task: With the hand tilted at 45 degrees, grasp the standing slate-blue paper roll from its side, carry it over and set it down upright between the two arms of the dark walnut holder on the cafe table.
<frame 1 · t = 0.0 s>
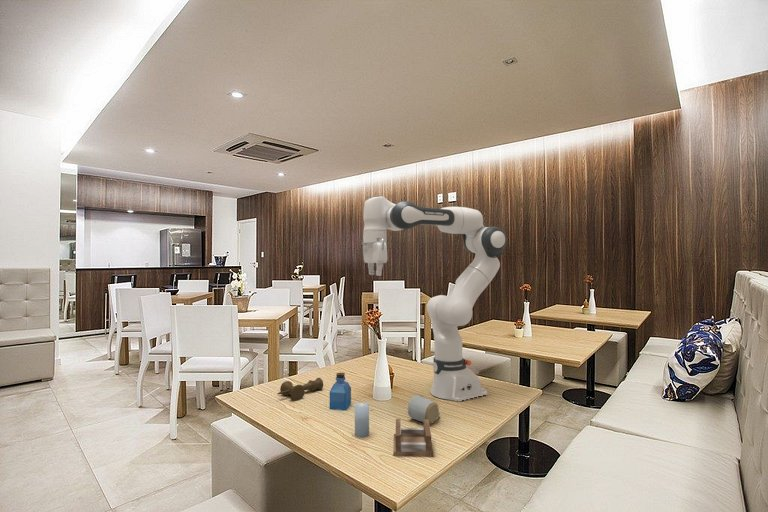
hand: (375, 275, 144), 48 cm above the table, tool pointing down, fingers open, 8 cm apart
ceramic mug: (425, 420, 128), on the table
perfume bottle: (340, 407, 140), on the table
holder: (412, 446, 109), on the table
paper roll: (361, 434, 117), on the table
kendama: (300, 395, 152), on the table
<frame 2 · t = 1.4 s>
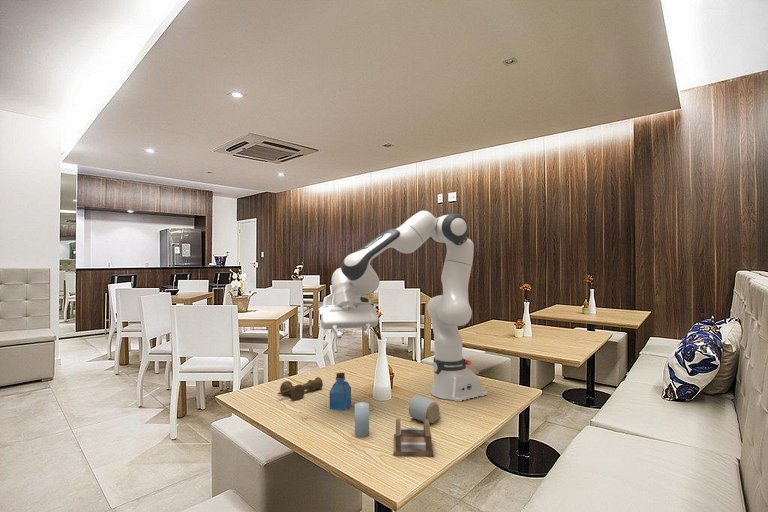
hand: (352, 336, 129), 28 cm above the table, tool tilted 45°, fingers open, 8 cm apart
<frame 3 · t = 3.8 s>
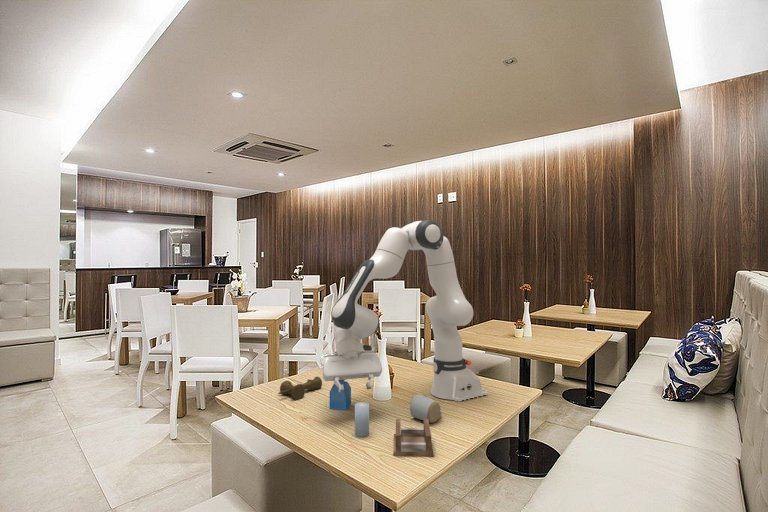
hand: (355, 389, 124), 11 cm above the table, tool tilted 45°, fingers open, 8 cm apart
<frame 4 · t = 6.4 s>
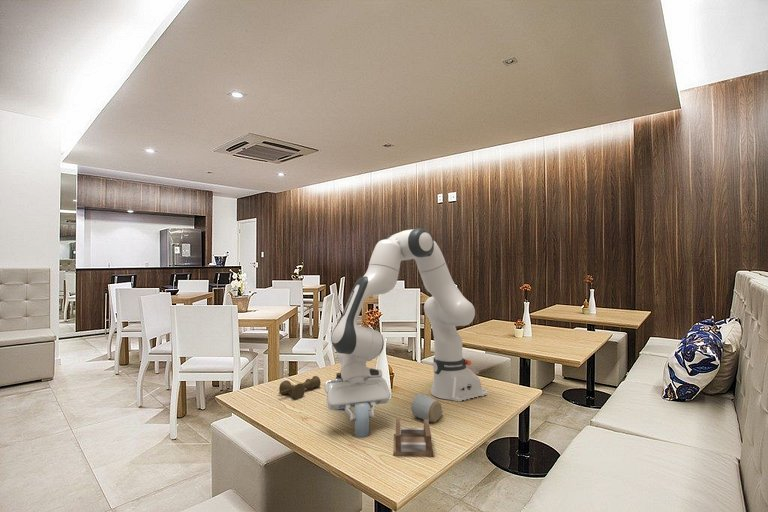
hand: (362, 418, 117), 5 cm above the table, tool tilted 45°, fingers closed on paper roll, 4 cm apart
paper roll: (361, 434, 117), on the table, touching gripper
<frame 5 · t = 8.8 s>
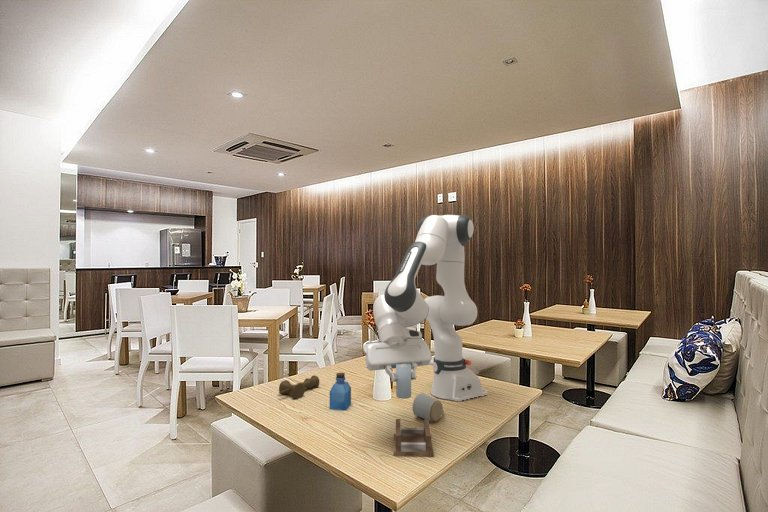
hand: (404, 379, 110), 19 cm above the table, tool tilted 45°, fingers closed on paper roll, 4 cm apart
paper roll: (403, 395, 111), point 14 cm above the table, touching gripper
when the fingers open (7 cm above the table, at t = 11.7 s): paper roll drops 1 cm, resting on holder.
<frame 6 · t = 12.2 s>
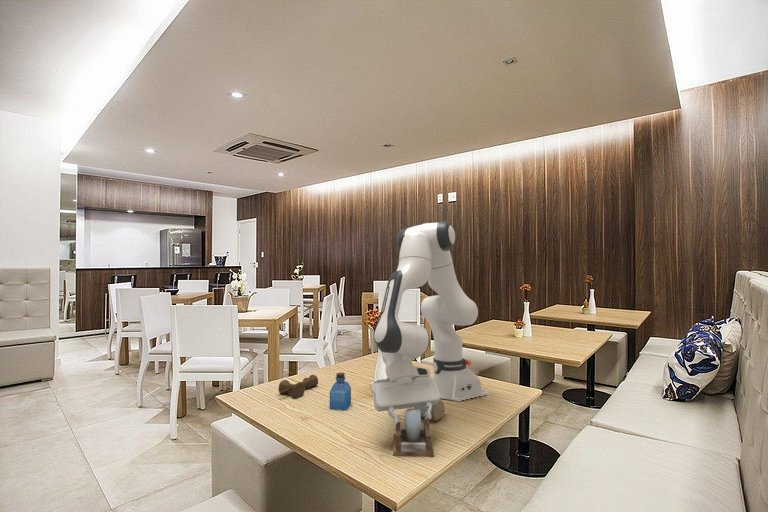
hand: (413, 421, 109), 7 cm above the table, tool tilted 45°, fingers open, 8 cm apart
paper roll: (413, 442, 109), point 1 cm above the table, touching holder
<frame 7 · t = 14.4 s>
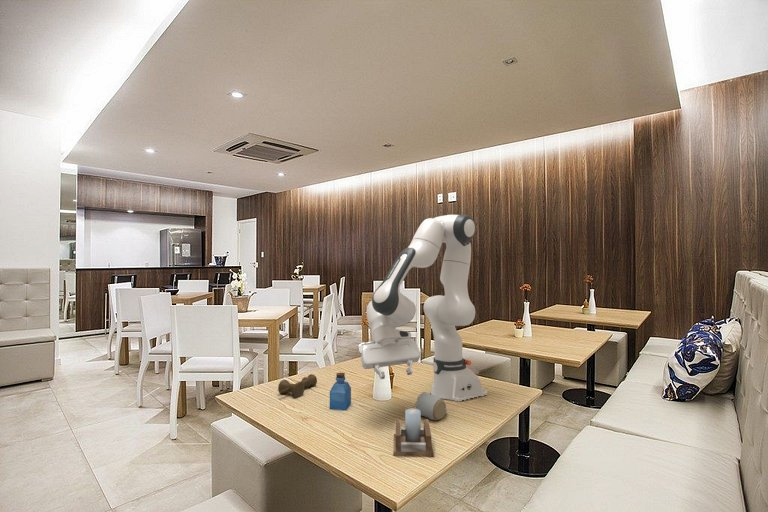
hand: (396, 376, 124), 16 cm above the table, tool tilted 45°, fingers open, 8 cm apart
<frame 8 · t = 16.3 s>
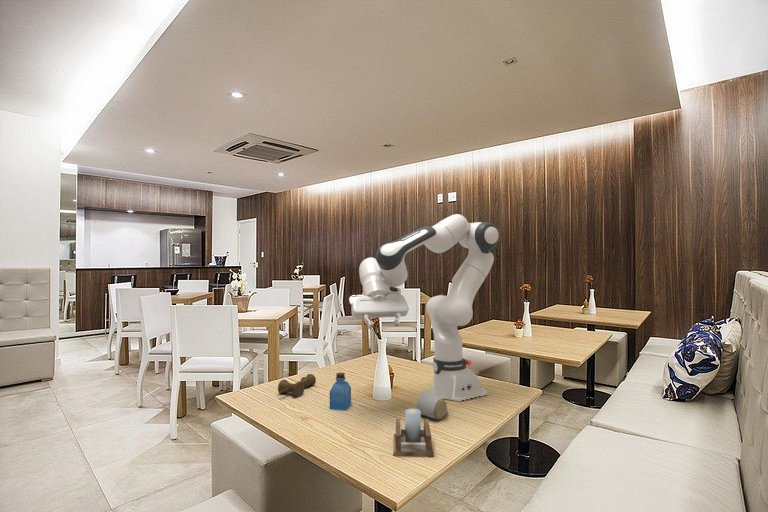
hand: (384, 326, 129), 31 cm above the table, tool tilted 45°, fingers open, 8 cm apart
at the end: paper roll inside the target area on the holder (0.1 cm from its centre), point 1.0 cm above the holder's base; paper roll tilted 0°; the gripper is holding nothing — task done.
